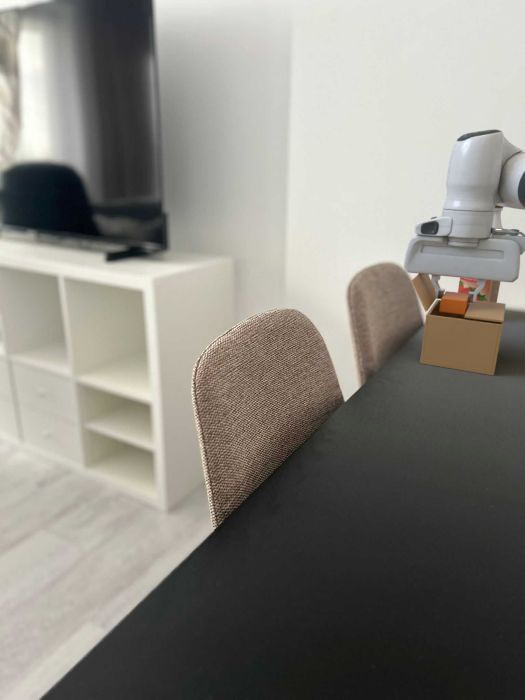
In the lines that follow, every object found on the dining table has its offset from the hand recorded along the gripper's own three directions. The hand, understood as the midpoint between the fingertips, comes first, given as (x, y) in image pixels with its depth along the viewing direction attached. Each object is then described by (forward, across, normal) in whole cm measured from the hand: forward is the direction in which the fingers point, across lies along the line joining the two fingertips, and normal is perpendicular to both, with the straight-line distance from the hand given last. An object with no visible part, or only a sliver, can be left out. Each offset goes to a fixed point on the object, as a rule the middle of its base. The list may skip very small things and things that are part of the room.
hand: (455, 300), depth 98 cm
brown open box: (+11, -2, 0) cm, 12 cm away
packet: (+2, 0, 0) cm, 2 cm away
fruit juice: (+12, -2, -35) cm, 37 cm away
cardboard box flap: (-2, +6, 0) cm, 6 cm away
